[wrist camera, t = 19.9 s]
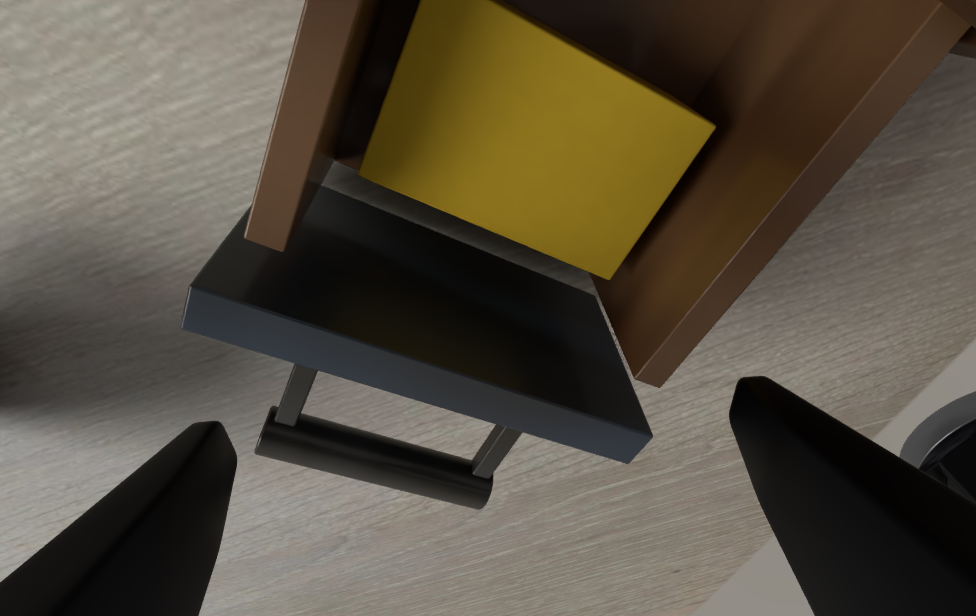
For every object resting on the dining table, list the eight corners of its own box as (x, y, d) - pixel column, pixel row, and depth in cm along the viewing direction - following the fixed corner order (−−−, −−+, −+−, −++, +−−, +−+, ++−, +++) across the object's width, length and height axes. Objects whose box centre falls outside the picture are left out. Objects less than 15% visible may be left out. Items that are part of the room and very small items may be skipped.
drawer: (518, 407, 22) (540, 561, 17) (237, 318, 19) (148, 473, 14) (855, -80, 14) (1142, -100, 8) (438, -402, 10) (423, -824, 5)
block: (372, 137, 15) (356, 175, 12) (435, -38, 13) (432, -33, 10) (586, 232, 17) (609, 281, 14) (672, 96, 15) (718, 126, 12)
